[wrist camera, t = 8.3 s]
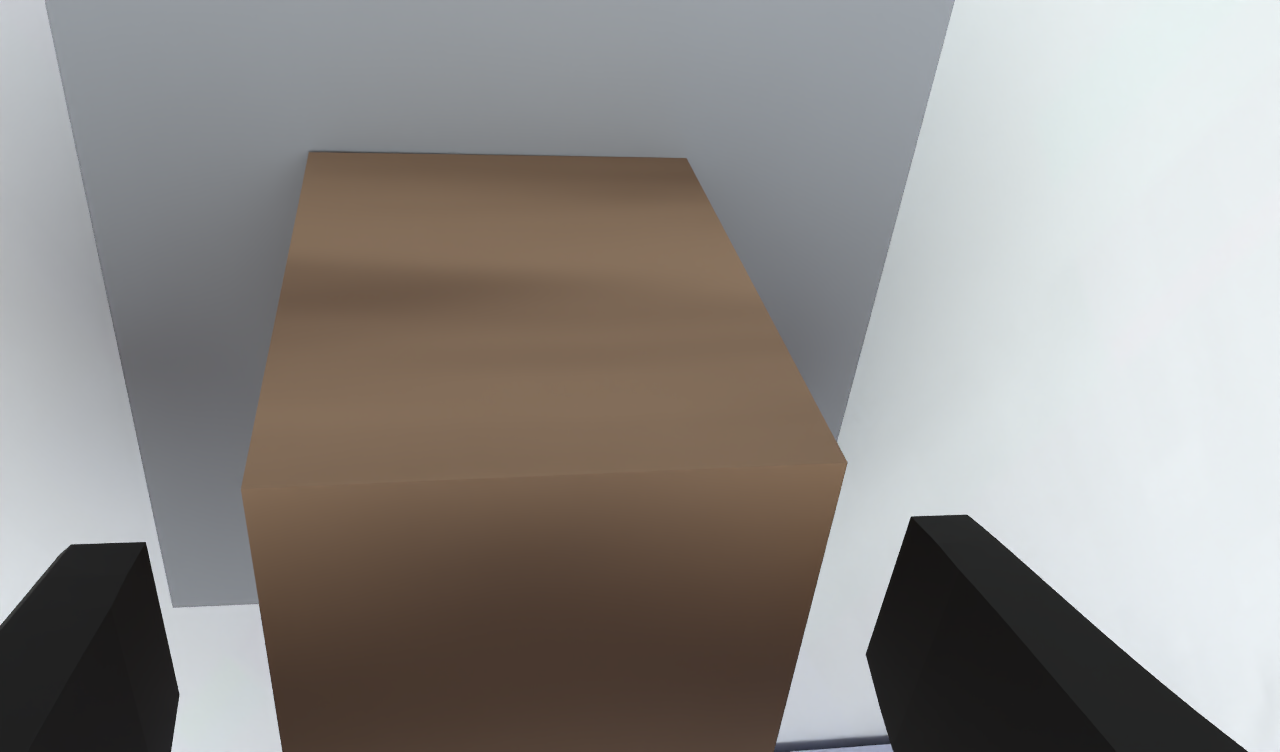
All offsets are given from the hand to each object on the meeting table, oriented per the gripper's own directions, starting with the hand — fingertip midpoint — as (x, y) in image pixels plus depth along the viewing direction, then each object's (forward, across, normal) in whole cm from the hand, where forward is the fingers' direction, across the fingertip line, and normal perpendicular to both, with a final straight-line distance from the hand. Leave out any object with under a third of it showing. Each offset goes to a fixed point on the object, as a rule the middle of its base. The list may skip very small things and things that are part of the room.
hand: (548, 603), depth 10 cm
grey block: (+8, 0, 0) cm, 8 cm away
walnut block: (+5, 0, 0) cm, 5 cm away
